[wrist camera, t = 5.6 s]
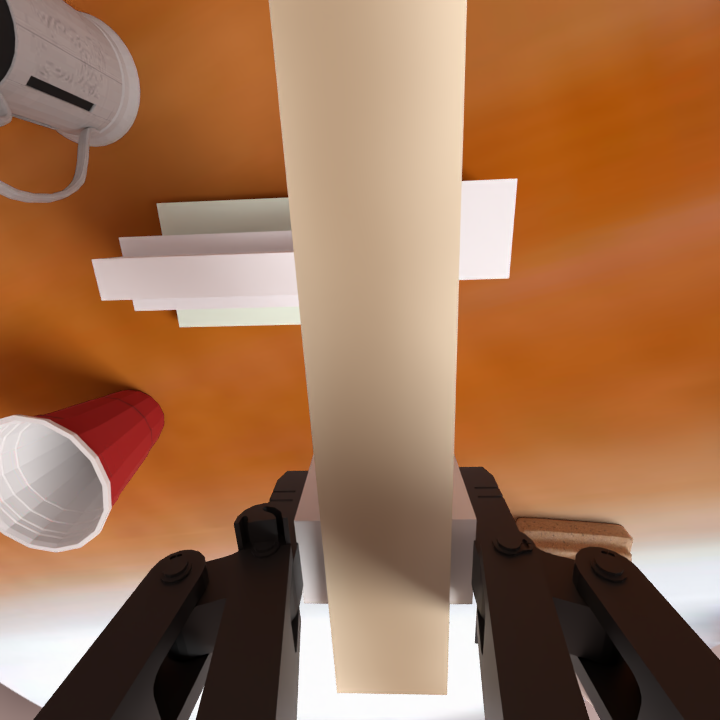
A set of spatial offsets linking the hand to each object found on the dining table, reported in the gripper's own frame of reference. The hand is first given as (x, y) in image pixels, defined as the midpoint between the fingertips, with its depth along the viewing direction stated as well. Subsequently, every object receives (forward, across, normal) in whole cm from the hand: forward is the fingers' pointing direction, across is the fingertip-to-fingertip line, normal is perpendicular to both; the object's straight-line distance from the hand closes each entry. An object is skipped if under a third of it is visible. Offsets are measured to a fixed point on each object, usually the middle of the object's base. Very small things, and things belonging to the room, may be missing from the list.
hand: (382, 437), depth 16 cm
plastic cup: (+20, -24, -8) cm, 32 cm away
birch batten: (-4, 0, +7) cm, 8 cm away
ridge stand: (+19, -9, +6) cm, 22 cm away
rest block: (+19, +5, +8) cm, 21 cm away
